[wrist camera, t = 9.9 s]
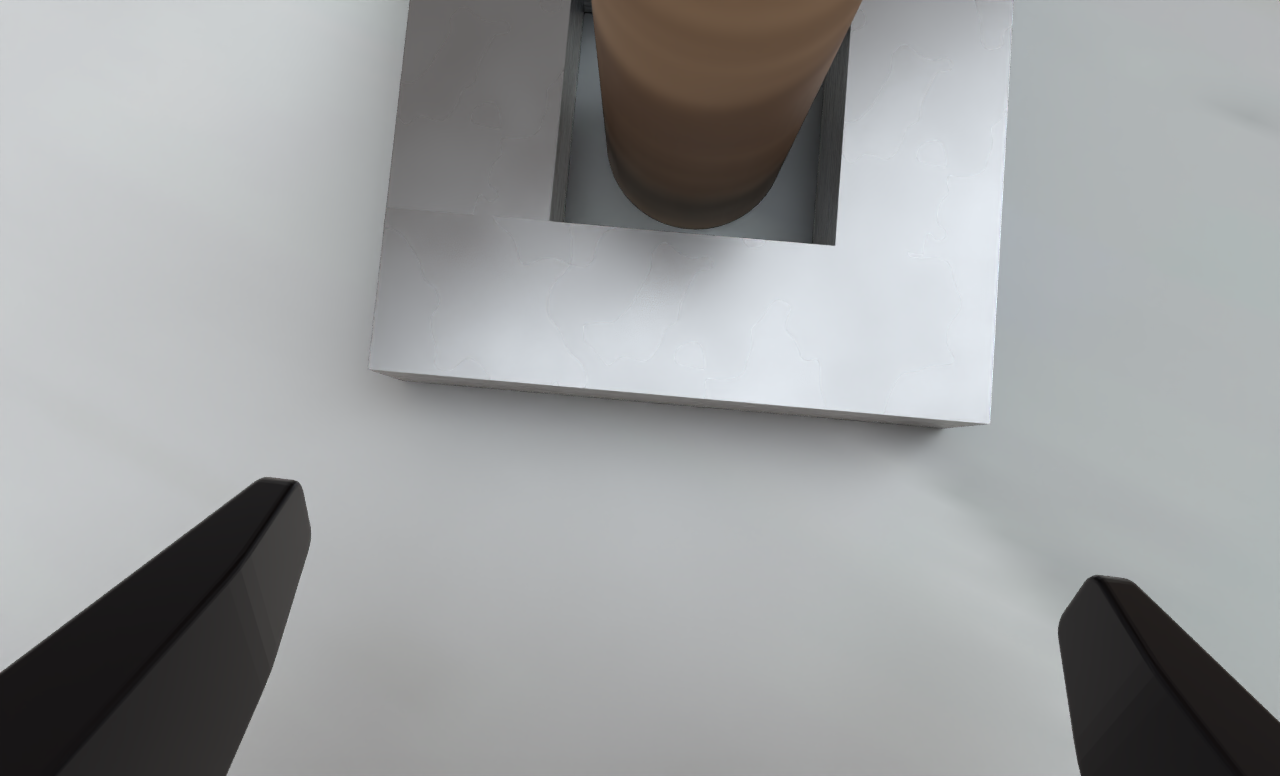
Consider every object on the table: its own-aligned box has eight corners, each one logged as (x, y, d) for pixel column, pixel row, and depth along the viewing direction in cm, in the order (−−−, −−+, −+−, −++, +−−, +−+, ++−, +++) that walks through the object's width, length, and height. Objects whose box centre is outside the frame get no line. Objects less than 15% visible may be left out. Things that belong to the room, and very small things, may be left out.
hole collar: (944, 428, 19) (990, 423, 17) (403, 380, 19) (367, 369, 17) (975, -89, 20) (1023, -166, 18) (459, -133, 20) (434, -216, 18)
